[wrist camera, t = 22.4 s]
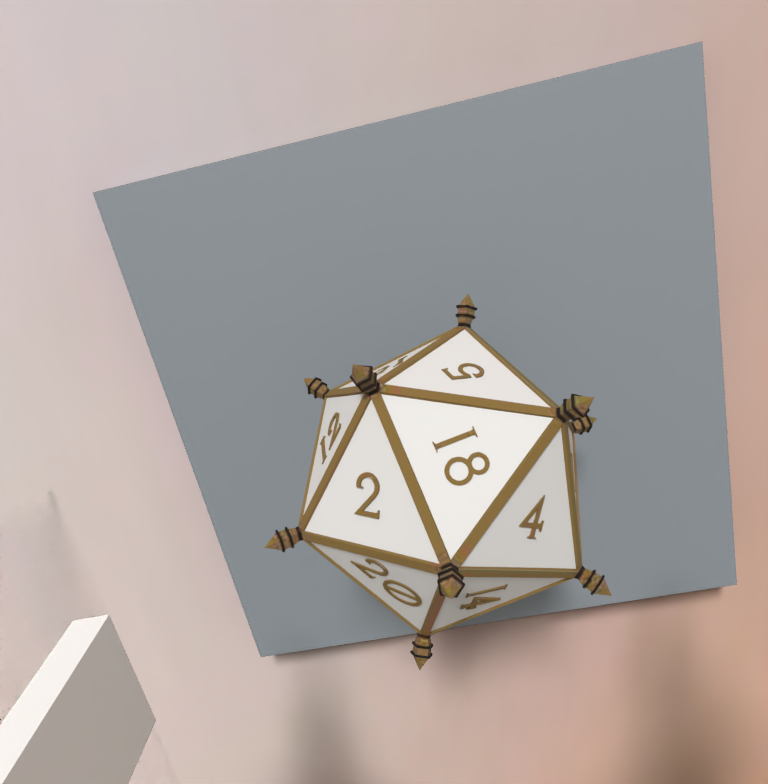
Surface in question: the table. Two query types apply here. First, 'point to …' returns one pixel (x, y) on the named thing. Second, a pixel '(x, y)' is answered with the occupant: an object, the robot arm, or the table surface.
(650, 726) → the table surface
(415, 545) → the game die
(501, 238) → the board
